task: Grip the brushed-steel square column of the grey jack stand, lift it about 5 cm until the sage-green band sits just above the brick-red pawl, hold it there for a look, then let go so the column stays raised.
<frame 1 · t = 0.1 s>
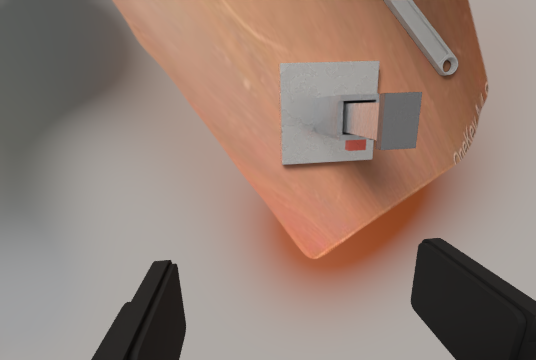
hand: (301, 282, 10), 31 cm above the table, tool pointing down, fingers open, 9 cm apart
stand base: (326, 114, 39), on the table
column: (354, 117, 29), point 10 cm above the table, slide at 0.0 cm
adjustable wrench: (391, 10, 37), on the table
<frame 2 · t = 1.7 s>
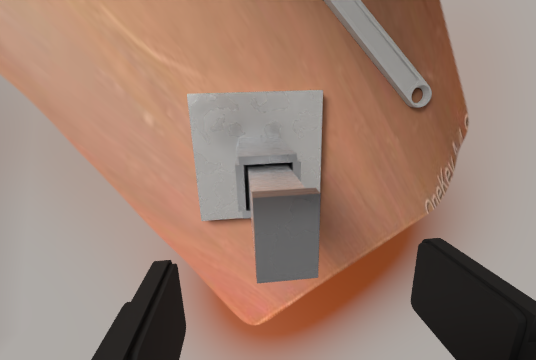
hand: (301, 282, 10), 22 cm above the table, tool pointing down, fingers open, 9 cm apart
stand base: (258, 155, 31), on the table
column: (267, 182, 21), point 10 cm above the table, slide at 0.0 cm
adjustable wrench: (343, 23, 28), on the table
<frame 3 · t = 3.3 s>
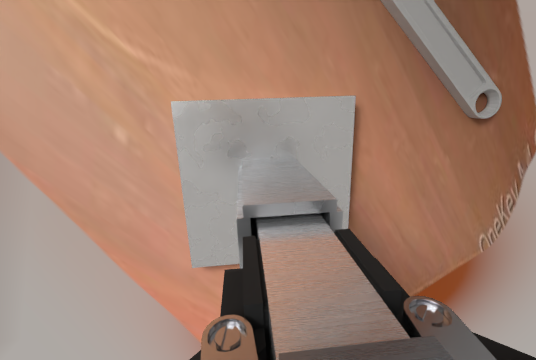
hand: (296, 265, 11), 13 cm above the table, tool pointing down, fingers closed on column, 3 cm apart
stand base: (267, 181, 23), on the table
column: (287, 239, 13), point 10 cm above the table, slide at 0.0 cm, touching gripper
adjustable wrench: (386, 7, 21), on the table
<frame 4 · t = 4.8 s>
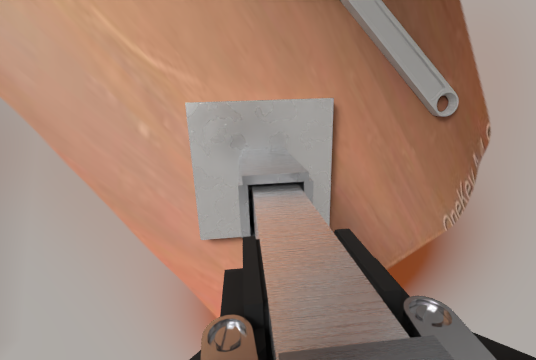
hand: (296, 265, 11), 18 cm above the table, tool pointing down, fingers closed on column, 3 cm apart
stand base: (262, 169, 28), on the table
column: (287, 239, 13), point 16 cm above the table, slide at 5.1 cm, touching gripper
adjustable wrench: (363, 26, 26), on the table
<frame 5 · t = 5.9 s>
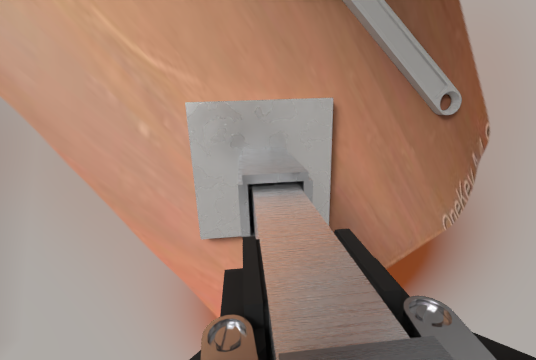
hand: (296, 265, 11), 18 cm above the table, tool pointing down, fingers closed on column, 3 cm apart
stand base: (262, 168, 28), on the table
column: (287, 239, 13), point 16 cm above the table, slide at 5.2 cm, touching gripper
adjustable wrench: (365, 26, 26), on the table
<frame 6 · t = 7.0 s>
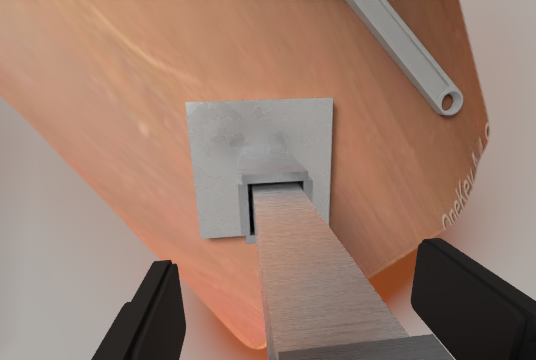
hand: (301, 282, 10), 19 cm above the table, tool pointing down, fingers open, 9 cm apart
stand base: (262, 168, 28), on the table
column: (286, 239, 13), point 16 cm above the table, slide at 5.2 cm
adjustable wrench: (368, 26, 26), on the table
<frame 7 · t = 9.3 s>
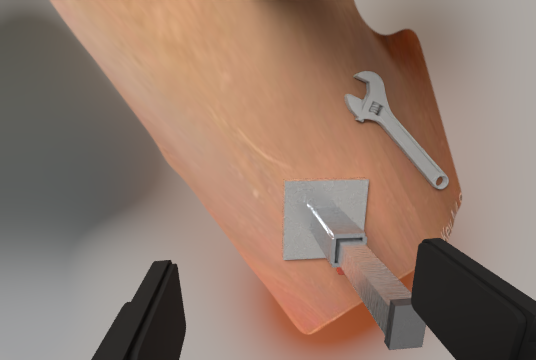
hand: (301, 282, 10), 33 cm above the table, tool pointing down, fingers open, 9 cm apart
stand base: (322, 217, 46), on the table
column: (362, 268, 31), point 16 cm above the table, slide at 5.2 cm
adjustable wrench: (393, 138, 44), on the table
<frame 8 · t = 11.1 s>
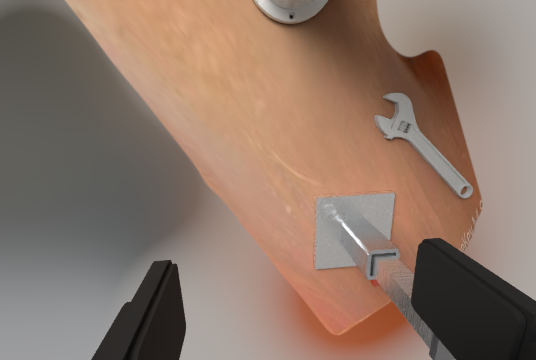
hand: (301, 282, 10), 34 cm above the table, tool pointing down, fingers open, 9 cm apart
stand base: (350, 228, 49), on the table
column: (399, 283, 34), point 16 cm above the table, slide at 5.2 cm
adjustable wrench: (419, 152, 47), on the table
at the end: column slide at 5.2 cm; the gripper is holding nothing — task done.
